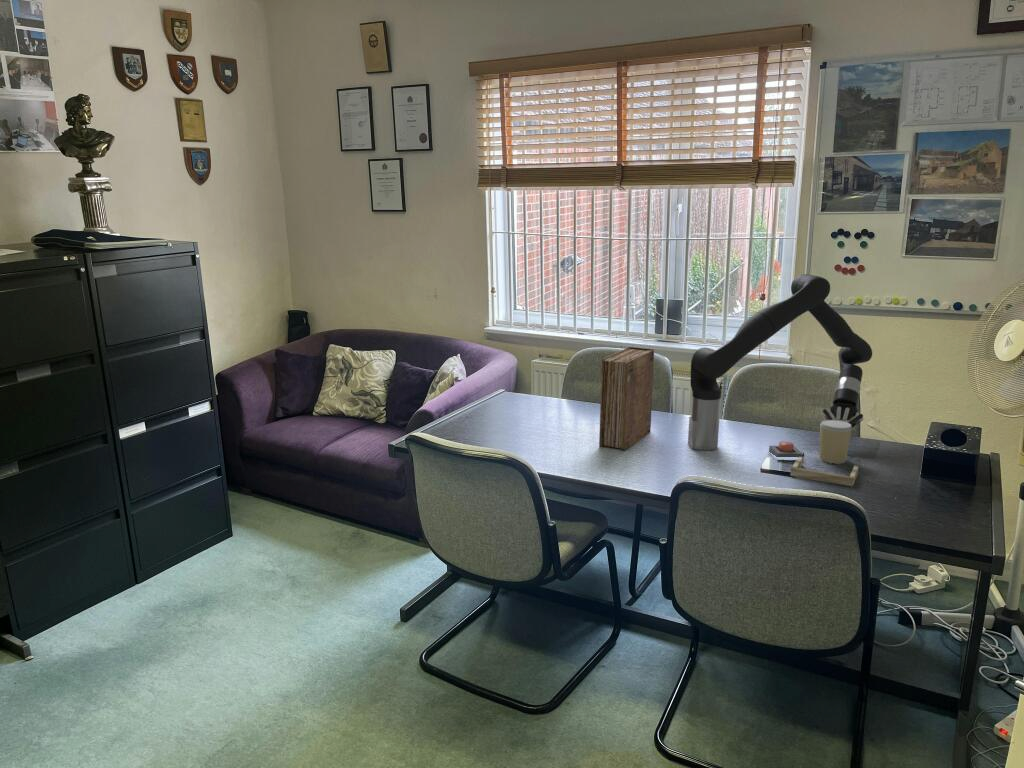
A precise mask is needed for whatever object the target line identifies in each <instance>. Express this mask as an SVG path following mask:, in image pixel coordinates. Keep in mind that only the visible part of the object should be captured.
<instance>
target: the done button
mask: <svg viewBox="0 0 1024 768" xmlns="http://www.w3.org/2000/svg"><path fill="white" fill-rule="evenodd" d="M778 446H779V451H780V452H793V447H794V446H795V445H794V443H793V442H791V441H780V442H779V443H778Z"/></svg>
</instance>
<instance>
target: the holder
mask: <svg viewBox="0 0 1024 768" xmlns="http://www.w3.org/2000/svg"><path fill="white" fill-rule="evenodd" d="M803 458H804V457H798V459H797V460H796V461H794V463H793V465H792V466H791V467H790V477H794V478H795V477H796V478H800V479H806V480H812V481H817V482H824V483H828V484H829V483H830V484H836V485H841V486H847V487H854V484H855V482H856V479H857V476H858V475H859V465H853V468H852V471H851V472H850V475H849V476H848V475H843V474H837V473H830V472H825V471H818V470H814V469H813V470H812V469H807V468H803V467H802V466H803V462H804V461H803V460H804V459H803ZM801 467H802V468H801Z"/></svg>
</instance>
